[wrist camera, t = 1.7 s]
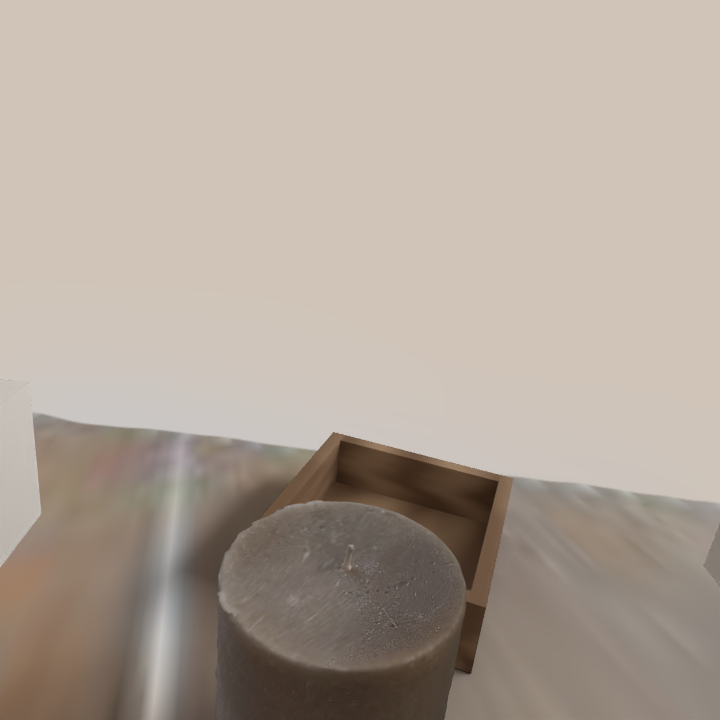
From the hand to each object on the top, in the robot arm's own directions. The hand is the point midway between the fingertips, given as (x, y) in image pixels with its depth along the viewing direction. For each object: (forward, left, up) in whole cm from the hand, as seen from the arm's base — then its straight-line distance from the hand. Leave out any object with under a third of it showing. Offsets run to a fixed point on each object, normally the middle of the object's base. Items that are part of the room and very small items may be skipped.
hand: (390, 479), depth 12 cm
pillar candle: (+3, -9, -24) cm, 26 cm away
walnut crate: (+5, -27, -24) cm, 36 cm away
